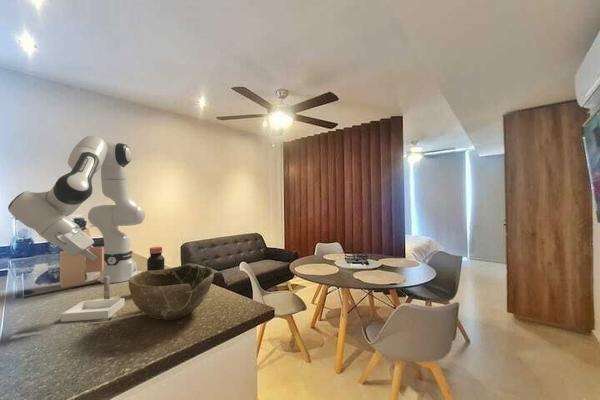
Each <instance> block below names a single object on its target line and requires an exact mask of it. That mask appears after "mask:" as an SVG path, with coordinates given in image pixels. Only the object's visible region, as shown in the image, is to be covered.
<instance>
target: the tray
mask: <svg viewBox="0 0 600 400" xmlns="http://www.w3.org/2000/svg"><path fill="white" fill-rule="evenodd" d="M125 303H126V302H125V298H122V297H121V298H120V299H105V300H95V299H93V300H92V299H91V300H82V301H81V302H79V303H77V304H75V305H74V306H72V307H70V308H69V309H67V310H65V311H63V312H61V313H60V322H63V323H65V322H75V321H76V322H77V321H87V322H83V324H87V323H88V324H89V323H101V322H109V321H110V320H112V317H111V316H113V315H114V314H116V312H118V311H119V310H121V308H123V307H124V306H125ZM89 320H90V321H89ZM91 320H92V321H91Z"/></svg>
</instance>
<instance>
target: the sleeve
mask: <svg viewBox="0 0 600 400" xmlns="http://www.w3.org/2000/svg"><path fill="white" fill-rule="evenodd" d="M87 249H88V250H89V251H90V252H91V253H93V254H95V255H97V258H96V259H95V260H94V261H92V260H90V259H89V258H87V257H85V274H87V273H97V272H100V271H102V270H103V269H104V246H93V247H91V248H87Z"/></svg>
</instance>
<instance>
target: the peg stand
mask: <svg viewBox="0 0 600 400" xmlns="http://www.w3.org/2000/svg"><path fill="white" fill-rule="evenodd" d="M121 298H122V295H115V296H110V283H109V276H106V277H104V283H103V297H101V298H95V299H94V300H105V299H121Z"/></svg>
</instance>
